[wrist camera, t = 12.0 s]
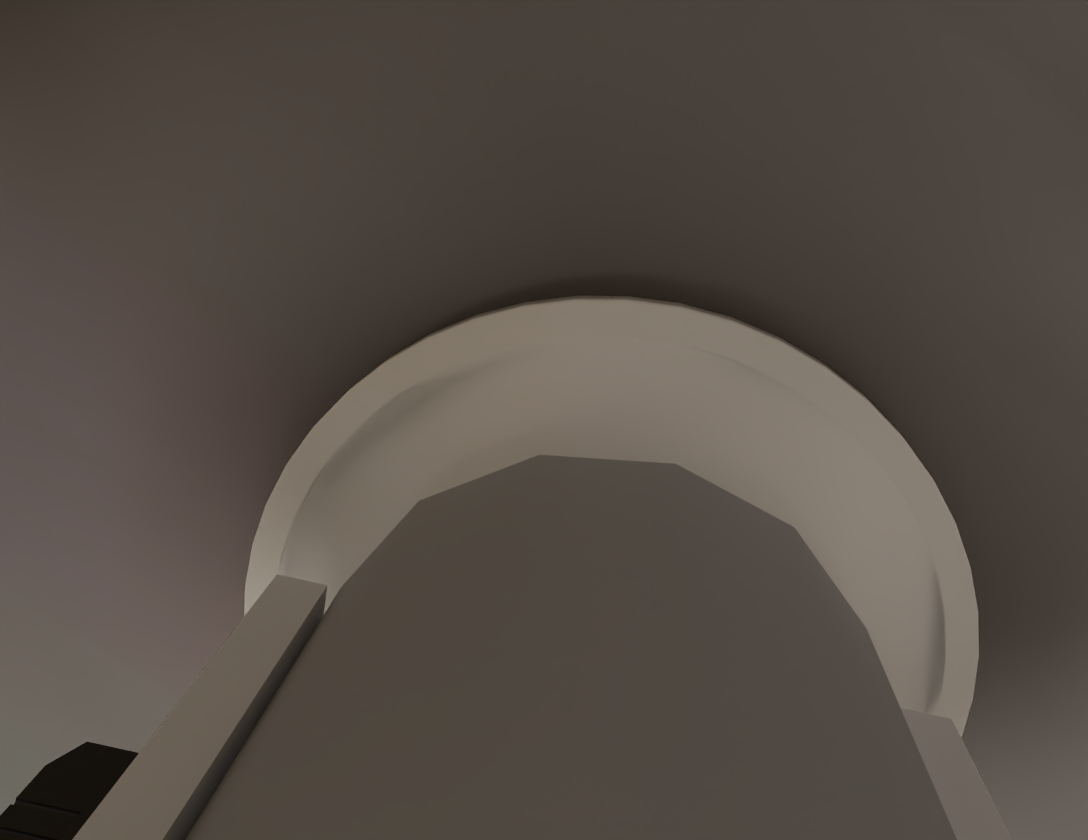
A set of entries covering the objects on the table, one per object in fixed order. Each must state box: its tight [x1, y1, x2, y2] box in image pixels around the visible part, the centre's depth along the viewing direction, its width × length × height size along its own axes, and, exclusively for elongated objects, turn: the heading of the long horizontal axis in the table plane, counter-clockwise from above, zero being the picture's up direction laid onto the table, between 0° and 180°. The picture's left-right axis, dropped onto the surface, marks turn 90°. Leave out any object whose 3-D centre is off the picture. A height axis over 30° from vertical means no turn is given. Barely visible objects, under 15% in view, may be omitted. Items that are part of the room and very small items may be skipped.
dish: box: [244, 296, 979, 738], centre depth 17 cm, size 12×12×1 cm
